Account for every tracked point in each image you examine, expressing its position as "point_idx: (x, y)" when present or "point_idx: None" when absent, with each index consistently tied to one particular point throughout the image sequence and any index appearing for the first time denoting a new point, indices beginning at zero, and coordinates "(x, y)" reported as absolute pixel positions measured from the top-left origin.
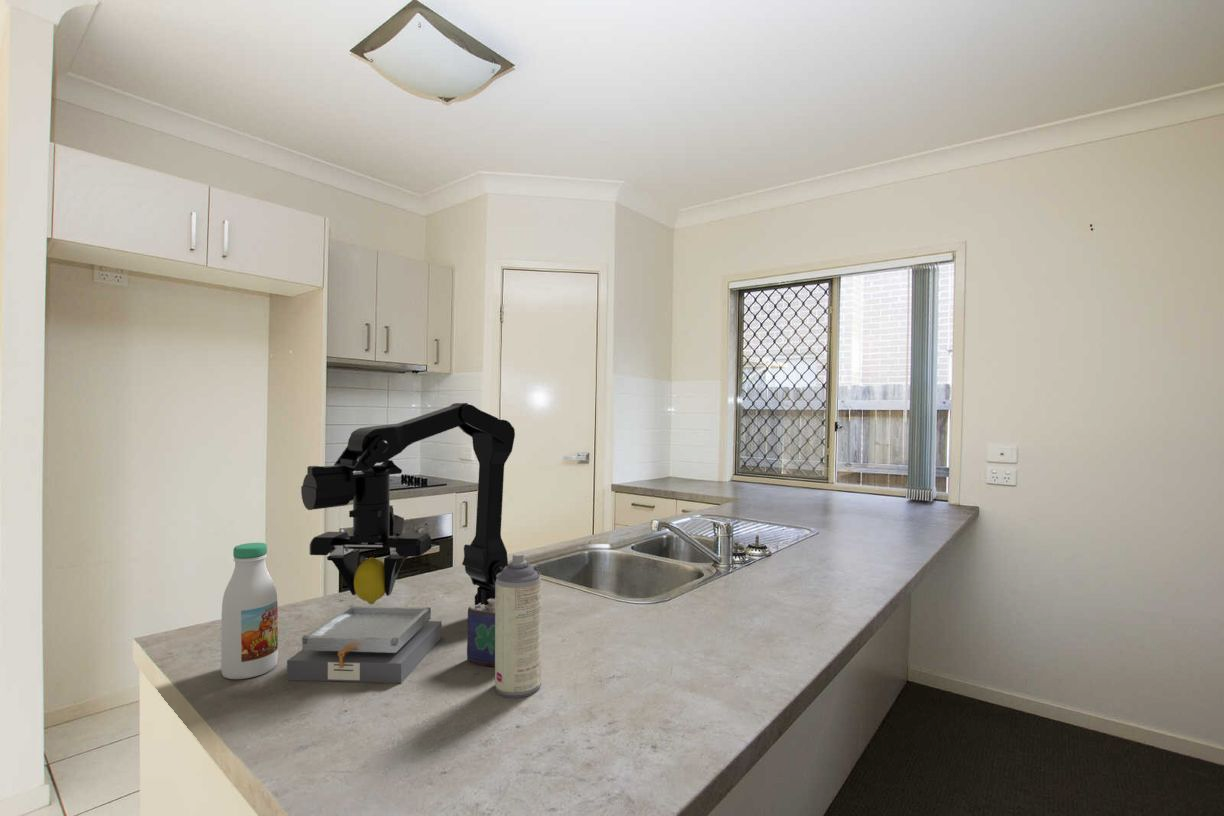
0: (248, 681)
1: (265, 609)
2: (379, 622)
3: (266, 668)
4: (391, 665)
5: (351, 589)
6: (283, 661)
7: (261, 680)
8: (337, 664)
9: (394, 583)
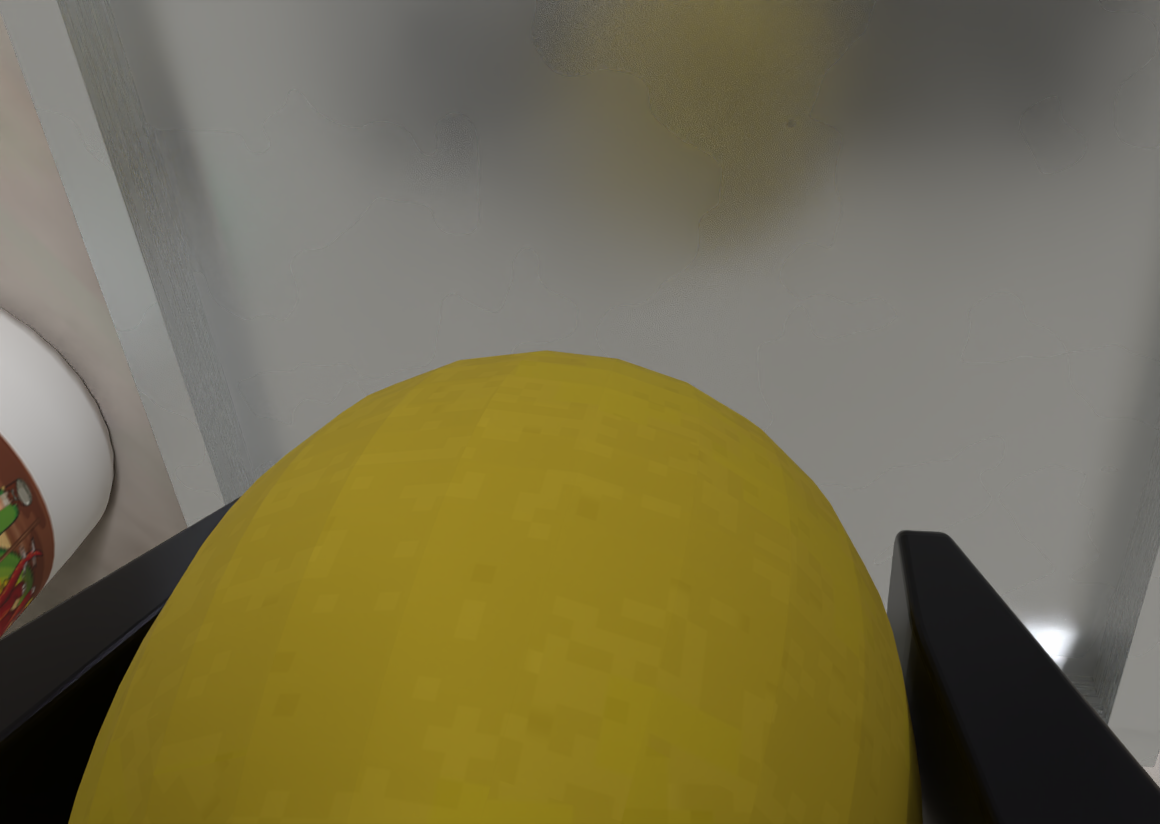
0: (113, 542)
1: None
2: (675, 118)
3: (103, 486)
4: None
5: None
6: (45, 281)
7: (172, 532)
8: None
9: (1049, 661)
